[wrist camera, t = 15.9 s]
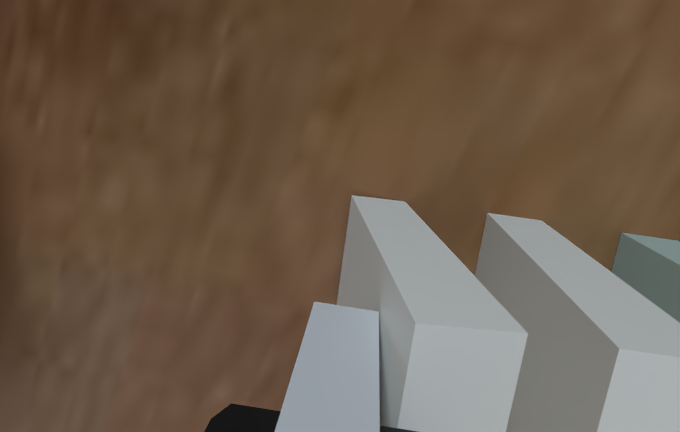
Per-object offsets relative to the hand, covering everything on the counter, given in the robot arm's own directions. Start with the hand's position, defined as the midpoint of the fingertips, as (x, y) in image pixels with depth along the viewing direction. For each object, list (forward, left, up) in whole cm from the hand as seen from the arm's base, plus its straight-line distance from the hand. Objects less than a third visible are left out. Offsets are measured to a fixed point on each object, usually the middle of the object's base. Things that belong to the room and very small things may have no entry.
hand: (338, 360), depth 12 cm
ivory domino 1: (-1, 0, -8) cm, 8 cm away
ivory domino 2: (-5, +2, -8) cm, 10 cm away
